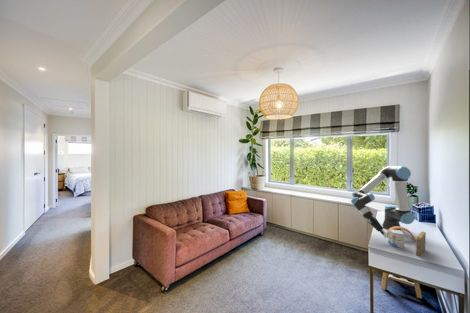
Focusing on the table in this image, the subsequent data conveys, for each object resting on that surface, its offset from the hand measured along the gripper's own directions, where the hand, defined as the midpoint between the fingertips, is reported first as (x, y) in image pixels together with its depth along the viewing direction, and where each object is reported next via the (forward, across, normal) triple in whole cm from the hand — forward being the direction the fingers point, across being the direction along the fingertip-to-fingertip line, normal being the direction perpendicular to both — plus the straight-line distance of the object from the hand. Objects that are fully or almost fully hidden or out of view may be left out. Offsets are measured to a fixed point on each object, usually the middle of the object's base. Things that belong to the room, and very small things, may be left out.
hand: (387, 237), depth 174 cm
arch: (+6, -21, -1) cm, 22 cm away
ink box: (+8, -1, +1) cm, 8 cm away
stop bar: (+19, -1, +12) cm, 22 cm away
